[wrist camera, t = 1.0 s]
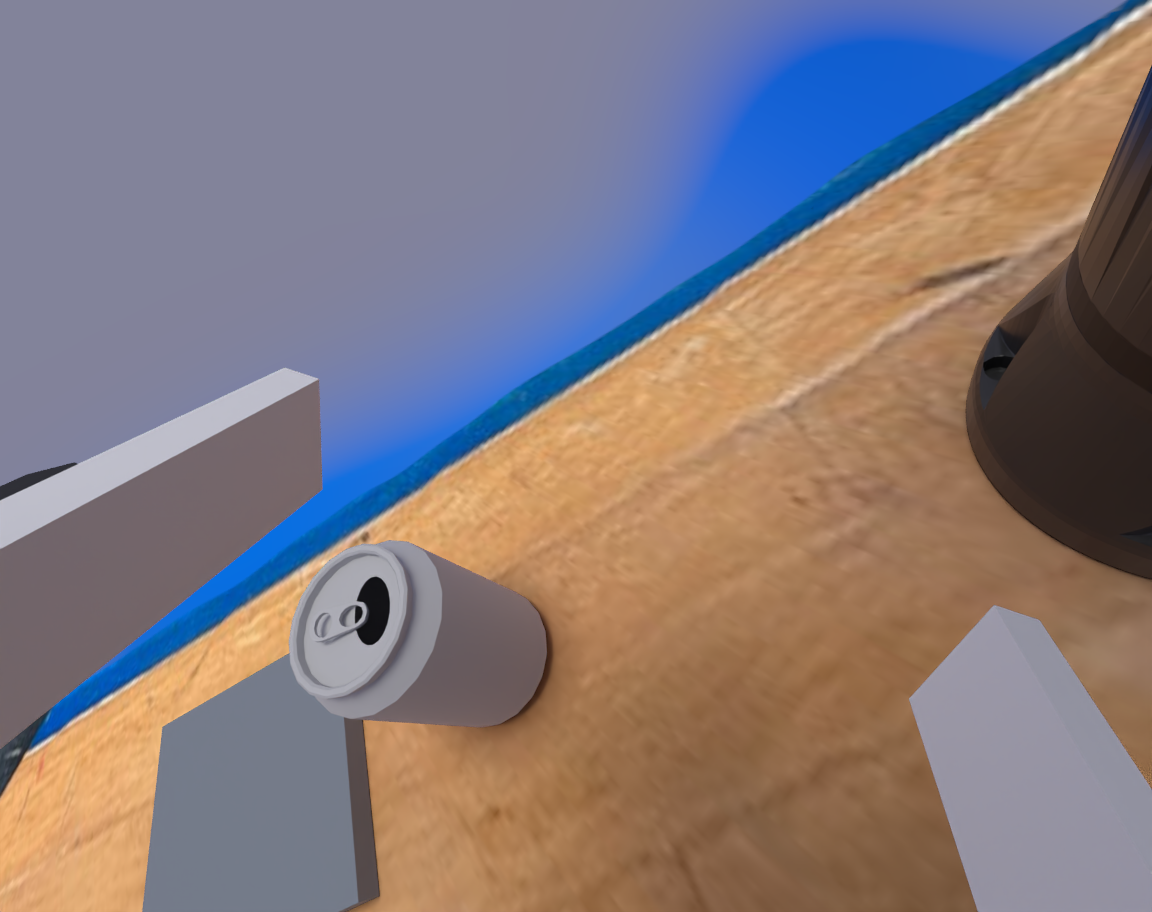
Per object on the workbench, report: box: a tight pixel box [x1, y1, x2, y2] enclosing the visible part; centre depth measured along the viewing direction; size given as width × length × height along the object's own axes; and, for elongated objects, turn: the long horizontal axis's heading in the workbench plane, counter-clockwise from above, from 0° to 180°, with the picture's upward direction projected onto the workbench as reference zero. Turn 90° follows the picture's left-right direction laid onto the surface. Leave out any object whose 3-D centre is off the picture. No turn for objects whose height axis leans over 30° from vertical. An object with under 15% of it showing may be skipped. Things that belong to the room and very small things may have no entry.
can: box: [289, 540, 547, 727], centre depth 27 cm, size 8×8×12 cm
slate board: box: [142, 653, 379, 912], centre depth 33 cm, size 16×15×2 cm
